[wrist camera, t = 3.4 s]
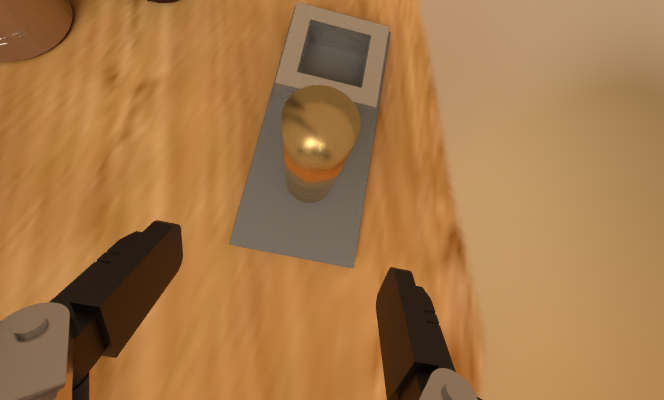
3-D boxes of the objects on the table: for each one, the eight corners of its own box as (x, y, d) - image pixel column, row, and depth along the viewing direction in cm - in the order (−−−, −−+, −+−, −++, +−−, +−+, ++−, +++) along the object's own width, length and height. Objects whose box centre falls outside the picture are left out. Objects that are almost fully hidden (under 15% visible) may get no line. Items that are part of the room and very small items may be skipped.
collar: (368, 122, 25) (376, 107, 23) (276, 100, 25) (274, 82, 22) (380, 47, 28) (389, 26, 25) (297, 25, 27) (297, 1, 24)
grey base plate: (350, 267, 23) (353, 268, 22) (231, 245, 22) (229, 244, 21) (387, 40, 29) (390, 32, 28) (294, 15, 28) (295, 6, 27)
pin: (279, 165, 23) (270, 95, 14) (322, 152, 24) (343, 77, 14) (294, 209, 23) (297, 167, 13) (339, 194, 23) (372, 144, 14)
